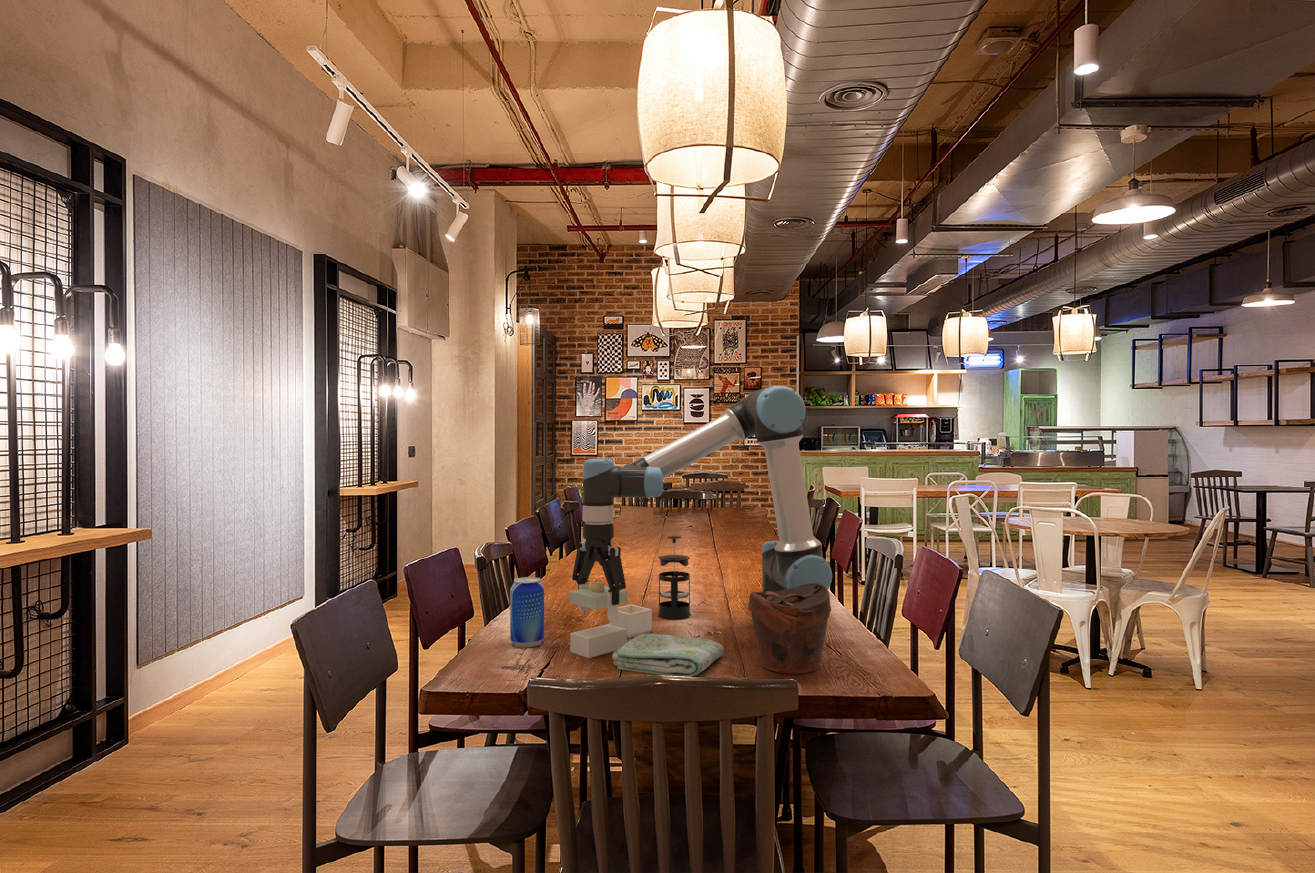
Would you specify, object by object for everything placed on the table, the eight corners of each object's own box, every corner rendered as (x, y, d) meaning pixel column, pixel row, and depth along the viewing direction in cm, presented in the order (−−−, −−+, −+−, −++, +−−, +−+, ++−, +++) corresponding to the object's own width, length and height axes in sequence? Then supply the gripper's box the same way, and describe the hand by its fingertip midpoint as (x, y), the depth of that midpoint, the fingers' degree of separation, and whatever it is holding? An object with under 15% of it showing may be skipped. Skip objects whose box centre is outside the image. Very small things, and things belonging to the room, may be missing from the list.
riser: (626, 647, 174) (626, 629, 174) (588, 658, 166) (588, 638, 166) (608, 641, 179) (608, 623, 179) (570, 651, 171) (570, 633, 171)
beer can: (540, 637, 184) (540, 575, 184) (547, 646, 176) (547, 581, 176) (507, 640, 181) (507, 577, 181) (513, 649, 173) (513, 584, 173)
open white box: (651, 631, 188) (651, 609, 188) (629, 638, 183) (629, 614, 183) (631, 626, 194) (631, 604, 194) (609, 632, 188) (609, 609, 188)
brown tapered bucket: (731, 670, 157) (732, 588, 157) (770, 648, 173) (771, 574, 173) (808, 687, 147) (810, 600, 147) (841, 662, 163) (842, 584, 163)
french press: (690, 620, 200) (690, 538, 200) (657, 620, 200) (656, 538, 200) (690, 610, 212) (690, 533, 212) (659, 610, 212) (658, 533, 212)
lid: (627, 602, 173) (627, 582, 173) (595, 609, 166) (595, 589, 166) (600, 596, 180) (600, 577, 180) (569, 602, 173) (569, 582, 173)
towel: (642, 648, 175) (642, 627, 175) (725, 657, 167) (724, 636, 167) (609, 670, 159) (609, 647, 159) (700, 682, 150) (699, 658, 150)
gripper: (641, 525, 167) (641, 619, 167) (581, 517, 183) (581, 603, 183) (617, 528, 162) (617, 625, 162) (557, 519, 178) (557, 608, 178)
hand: (598, 614), depth 173 cm, fingers closed on lid, 10 cm apart
